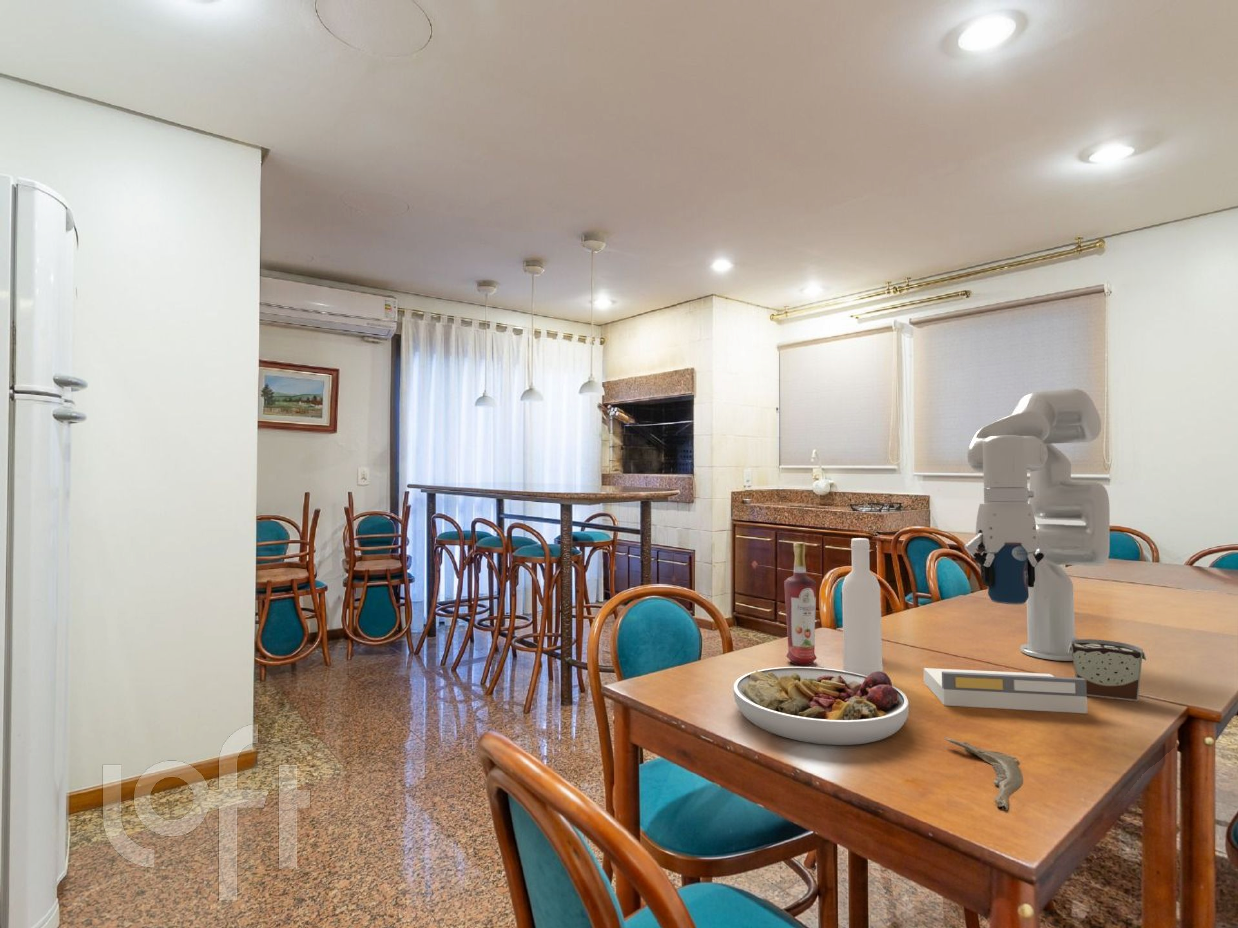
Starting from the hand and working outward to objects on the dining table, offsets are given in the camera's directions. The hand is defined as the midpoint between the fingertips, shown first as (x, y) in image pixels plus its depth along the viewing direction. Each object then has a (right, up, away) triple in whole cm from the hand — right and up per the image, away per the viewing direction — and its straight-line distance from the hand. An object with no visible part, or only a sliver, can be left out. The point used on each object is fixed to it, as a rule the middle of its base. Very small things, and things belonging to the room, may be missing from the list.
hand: (1007, 585), depth 126 cm
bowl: (-42, -22, -12) cm, 49 cm away
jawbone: (-26, -21, -35) cm, 49 cm away
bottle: (-25, -22, +10) cm, 35 cm away
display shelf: (-3, -21, -2) cm, 22 cm away
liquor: (-35, -23, +22) cm, 47 cm away
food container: (+19, -22, -1) cm, 28 cm away
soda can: (0, -4, 0) cm, 4 cm away
